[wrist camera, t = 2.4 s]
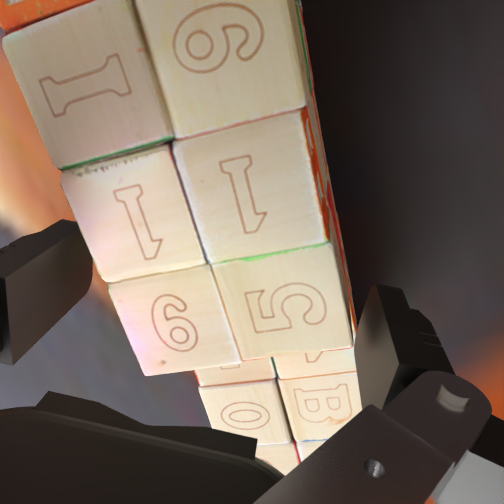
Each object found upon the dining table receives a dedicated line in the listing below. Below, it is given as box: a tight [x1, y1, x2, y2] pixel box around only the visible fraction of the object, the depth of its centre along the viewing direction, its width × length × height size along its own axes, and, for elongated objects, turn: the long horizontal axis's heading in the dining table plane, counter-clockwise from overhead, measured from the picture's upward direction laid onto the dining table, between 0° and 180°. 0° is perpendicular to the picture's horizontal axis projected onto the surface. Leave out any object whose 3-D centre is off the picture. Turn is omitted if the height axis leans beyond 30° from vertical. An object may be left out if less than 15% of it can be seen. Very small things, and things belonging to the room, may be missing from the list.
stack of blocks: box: [0, 0, 362, 476], centre depth 17 cm, size 21×6×12 cm, turn 14°
